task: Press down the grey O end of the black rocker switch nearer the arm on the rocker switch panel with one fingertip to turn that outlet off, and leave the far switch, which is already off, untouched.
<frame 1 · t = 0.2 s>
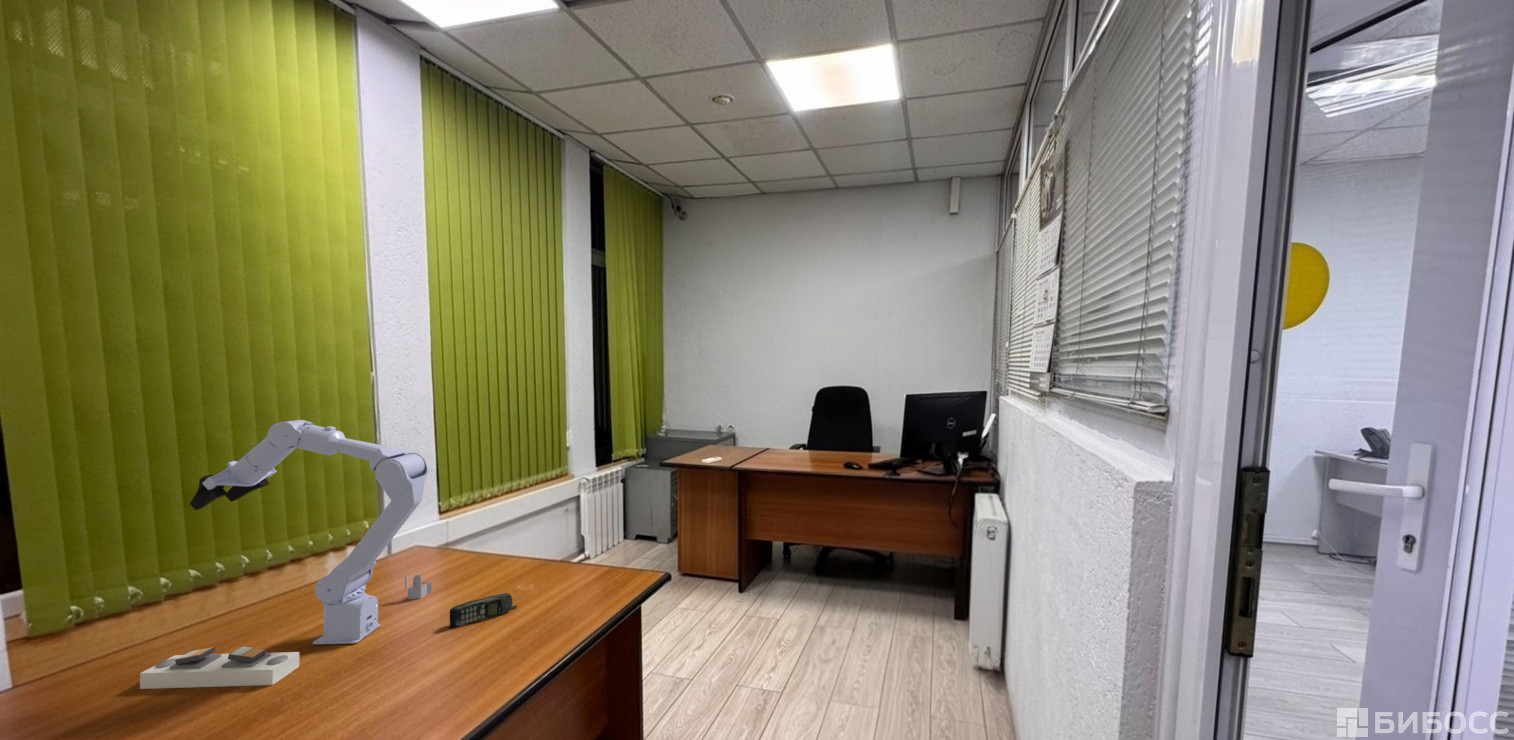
hand: (212, 502, 112), 31 cm above the table, tool tilted 45°, fingers open, 7 cm apart
architectural model: (406, 595, 136), on the table
rocker near: (247, 654, 99), point 4 cm above the table, hinge at -10.0°
mobile phone: (484, 619, 123), on the table
rocker far: (195, 655, 98), point 4 cm above the table, hinge at 10.0°
rocker switch panel: (222, 677, 98), on the table
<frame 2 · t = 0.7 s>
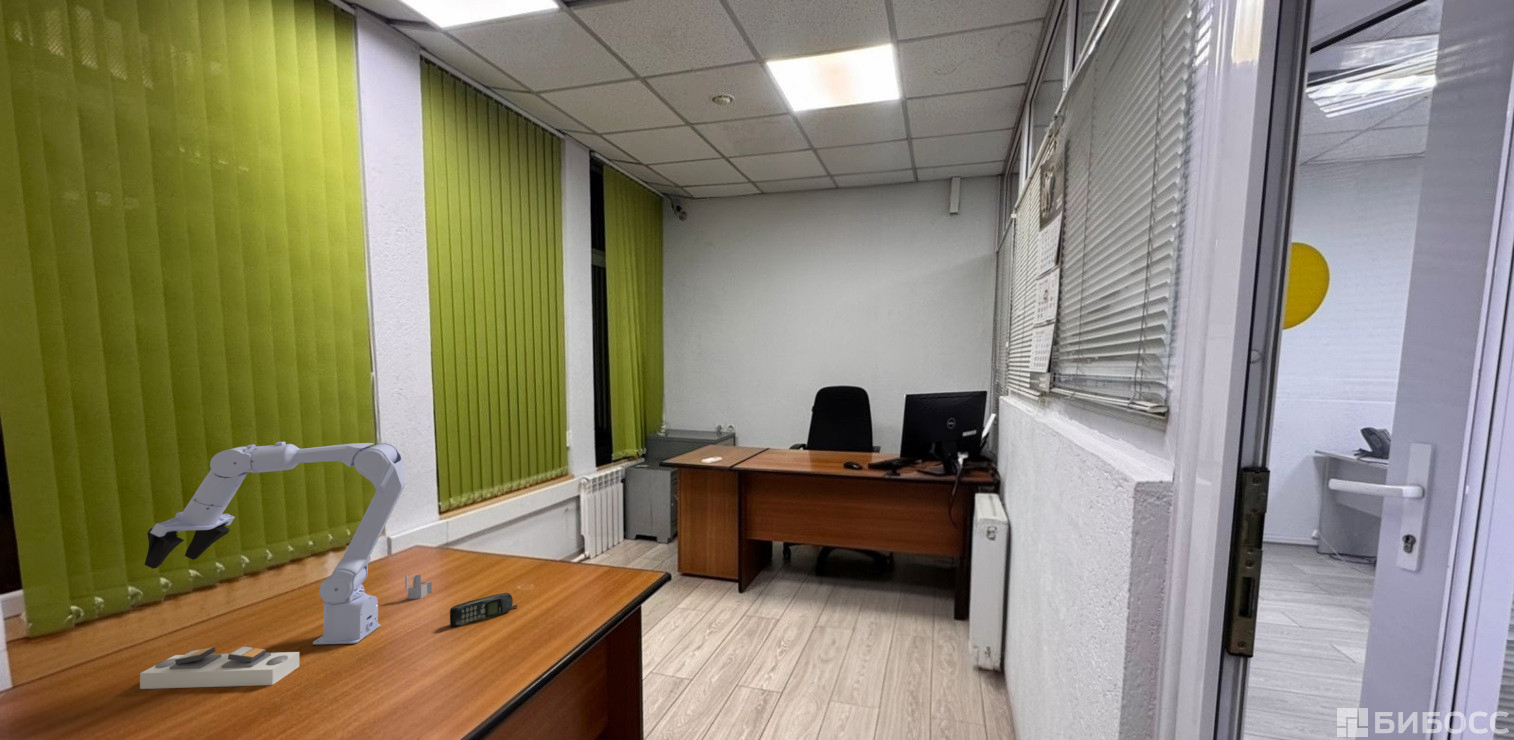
hand: (171, 561, 103), 21 cm above the table, tool tilted 25°, fingers open, 7 cm apart
nothing on the table moved.
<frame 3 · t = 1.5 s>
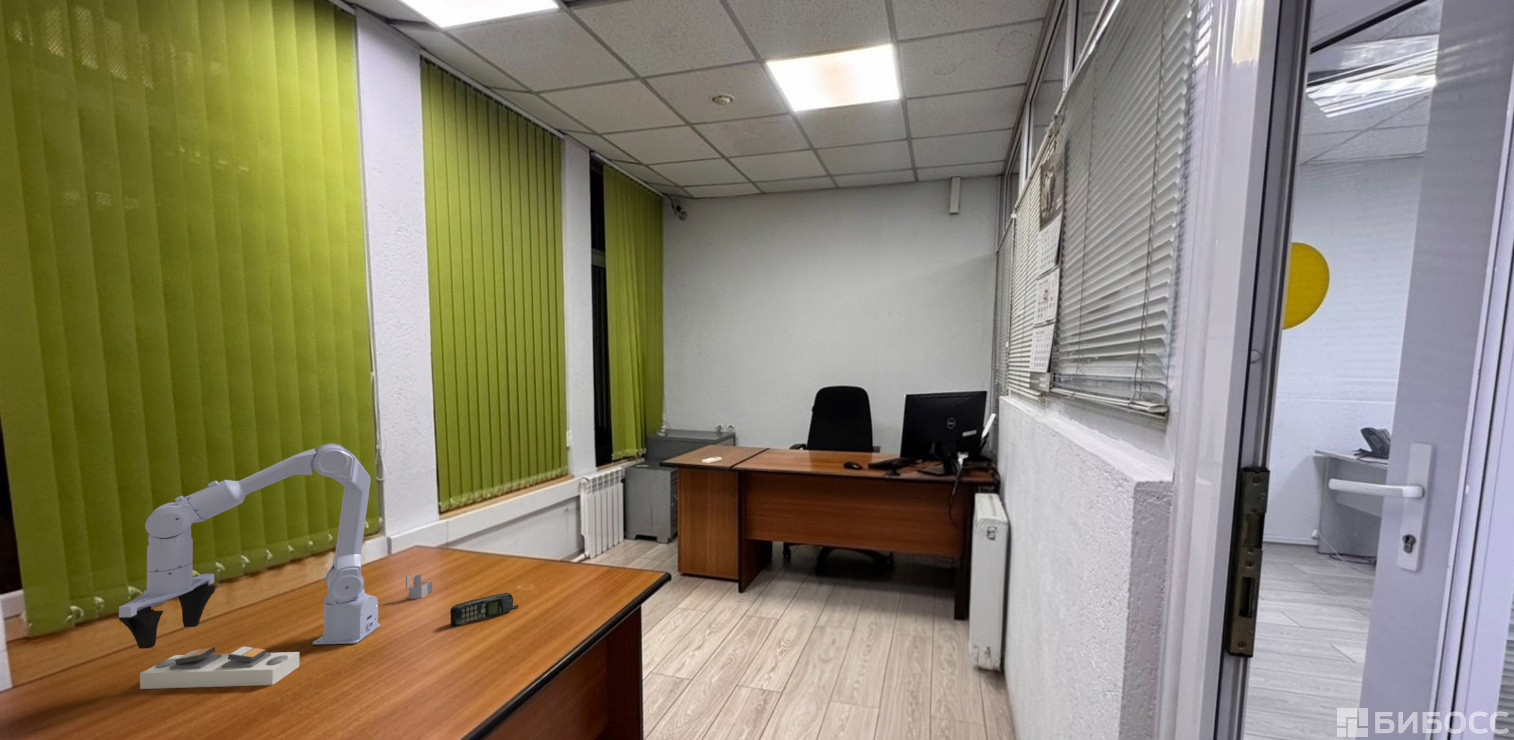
hand: (169, 636, 96), 9 cm above the table, tool pointing down, fingers open, 7 cm apart
nothing on the table moved.
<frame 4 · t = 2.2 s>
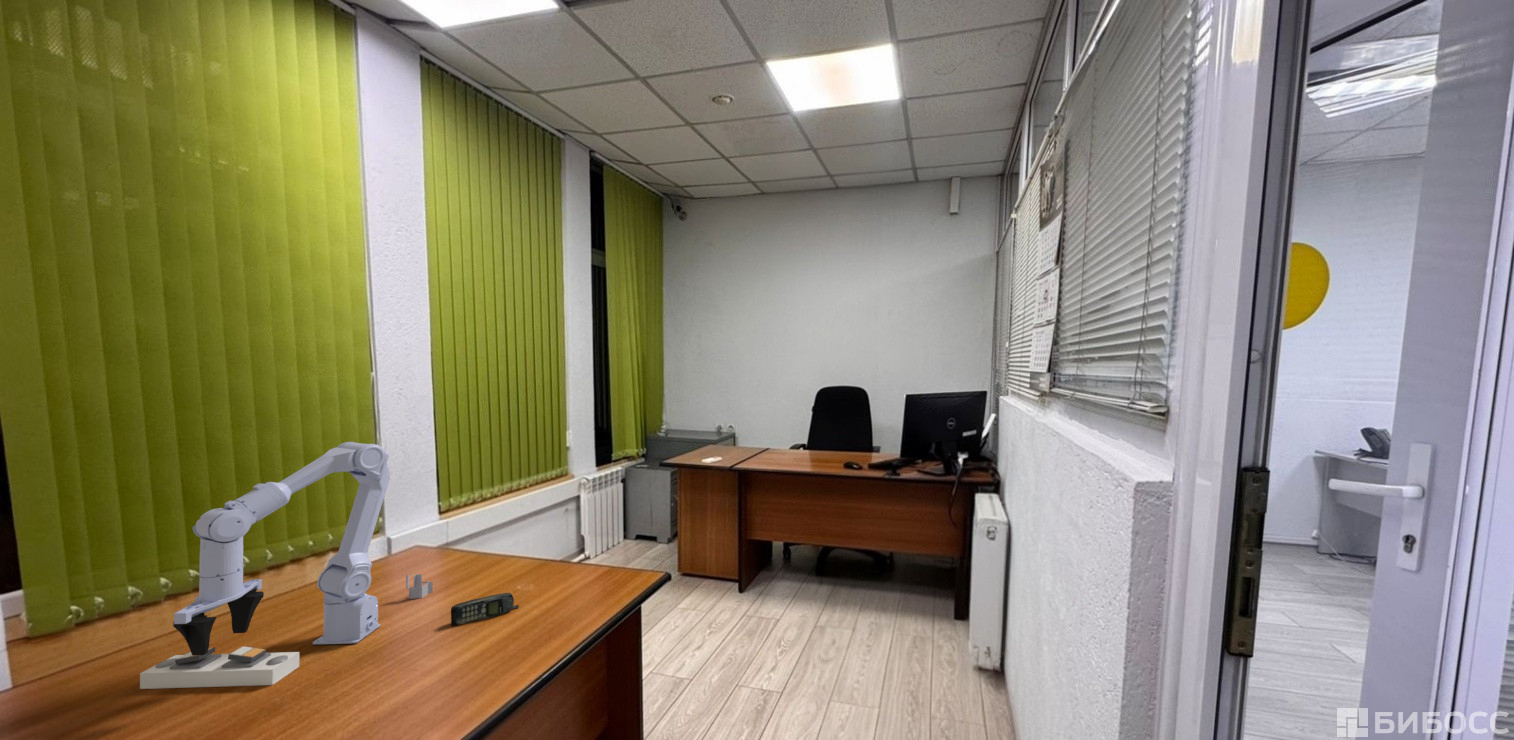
hand: (220, 642, 95), 9 cm above the table, tool pointing down, fingers open, 7 cm apart
nothing on the table moved.
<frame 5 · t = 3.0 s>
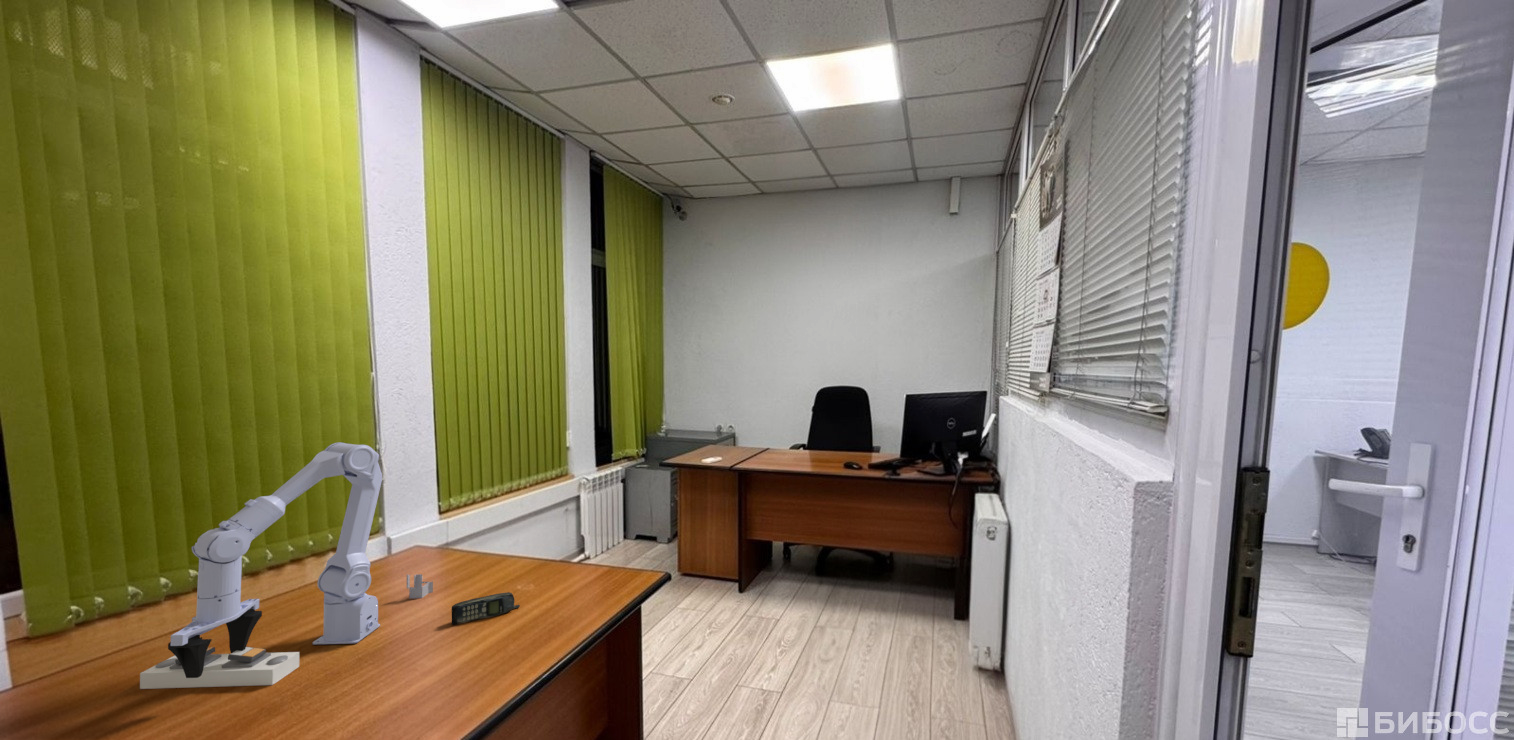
hand: (216, 664, 95), 5 cm above the table, tool pointing down, fingers open, 7 cm apart
rocker near: (247, 654, 99), point 4 cm above the table, hinge at -8.4°, touching gripper
everything else where it was.
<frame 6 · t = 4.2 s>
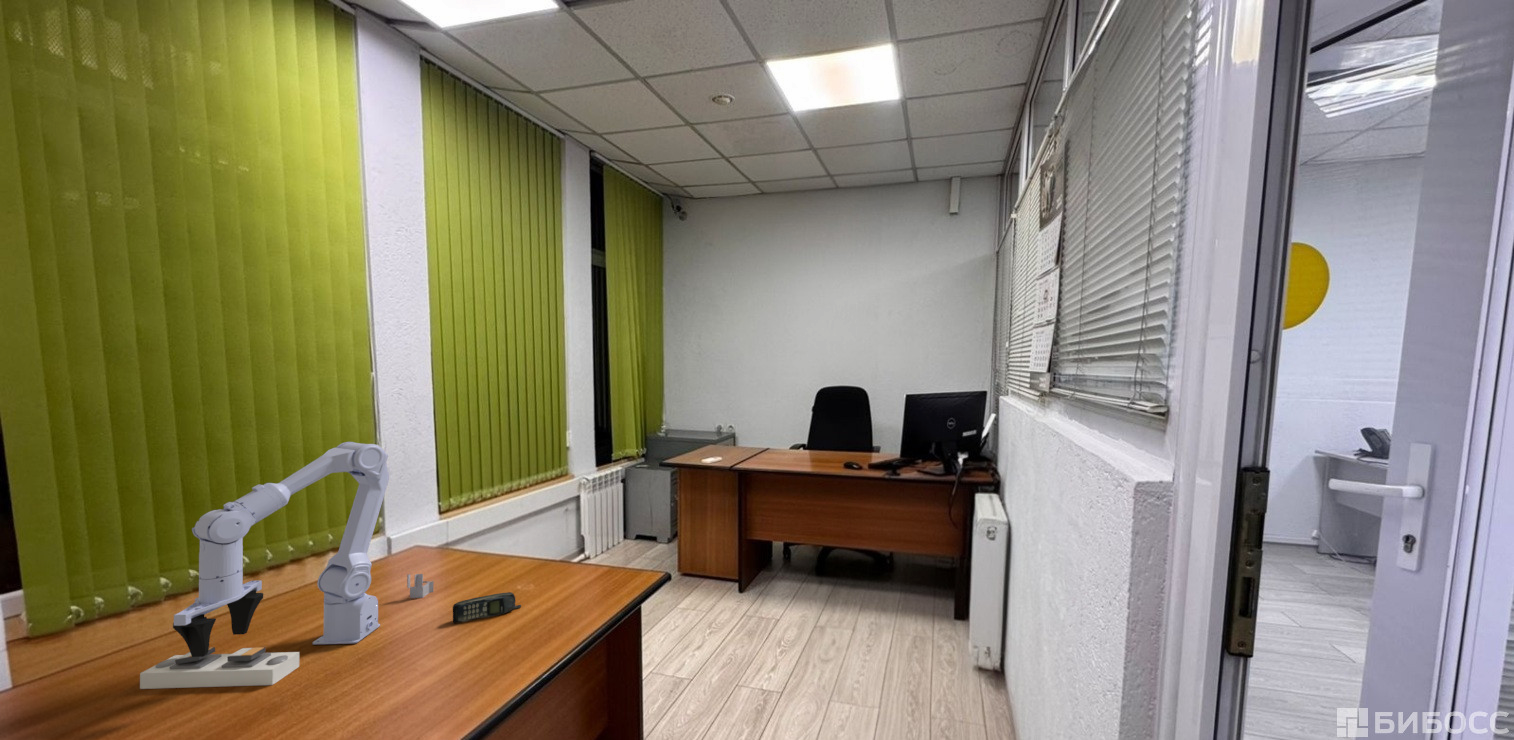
hand: (220, 644, 95), 8 cm above the table, tool pointing down, fingers open, 7 cm apart
rocker near: (246, 654, 99), point 4 cm above the table, hinge at 1.1°
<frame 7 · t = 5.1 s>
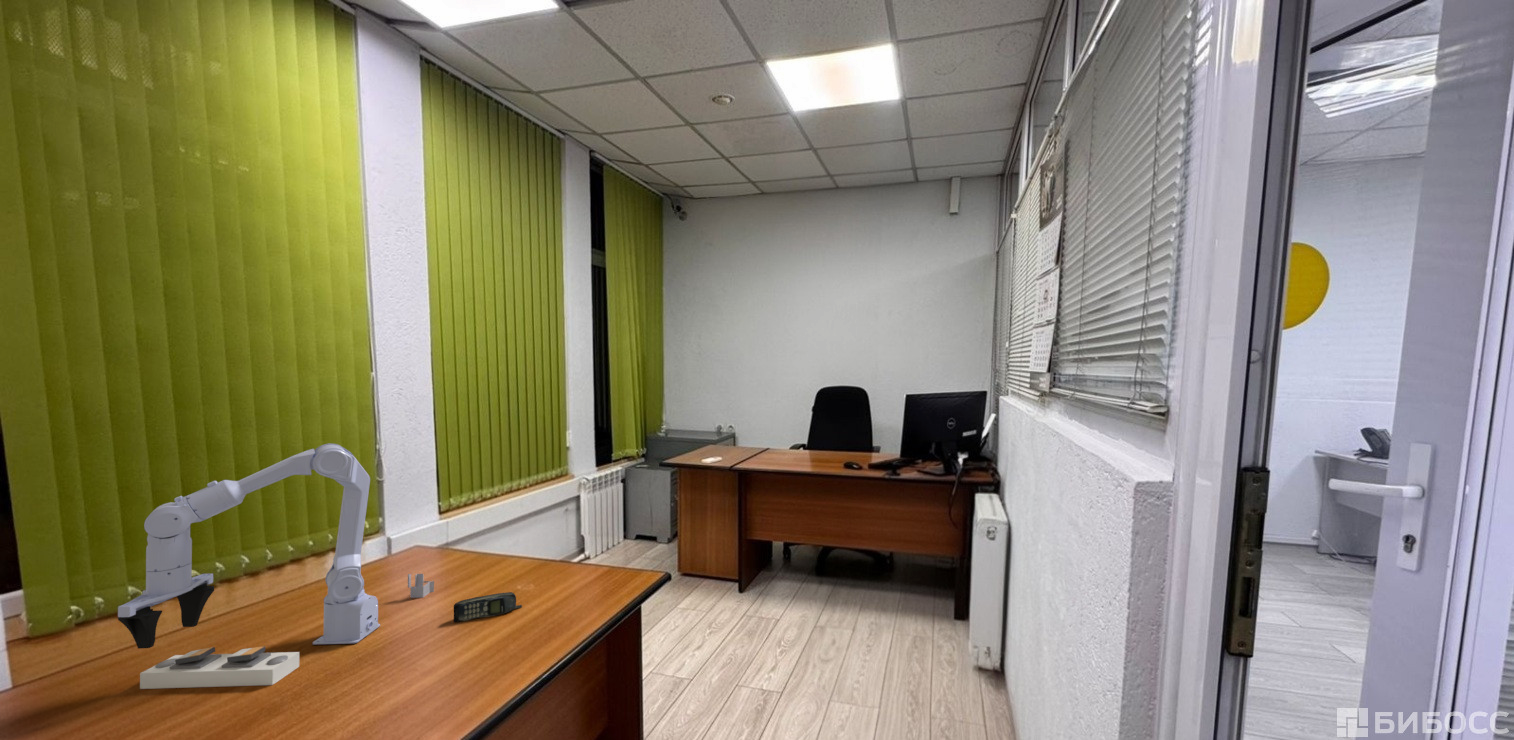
hand: (168, 636, 96), 9 cm above the table, tool pointing down, fingers open, 7 cm apart
rocker near: (246, 654, 99), point 4 cm above the table, hinge at 6.0°
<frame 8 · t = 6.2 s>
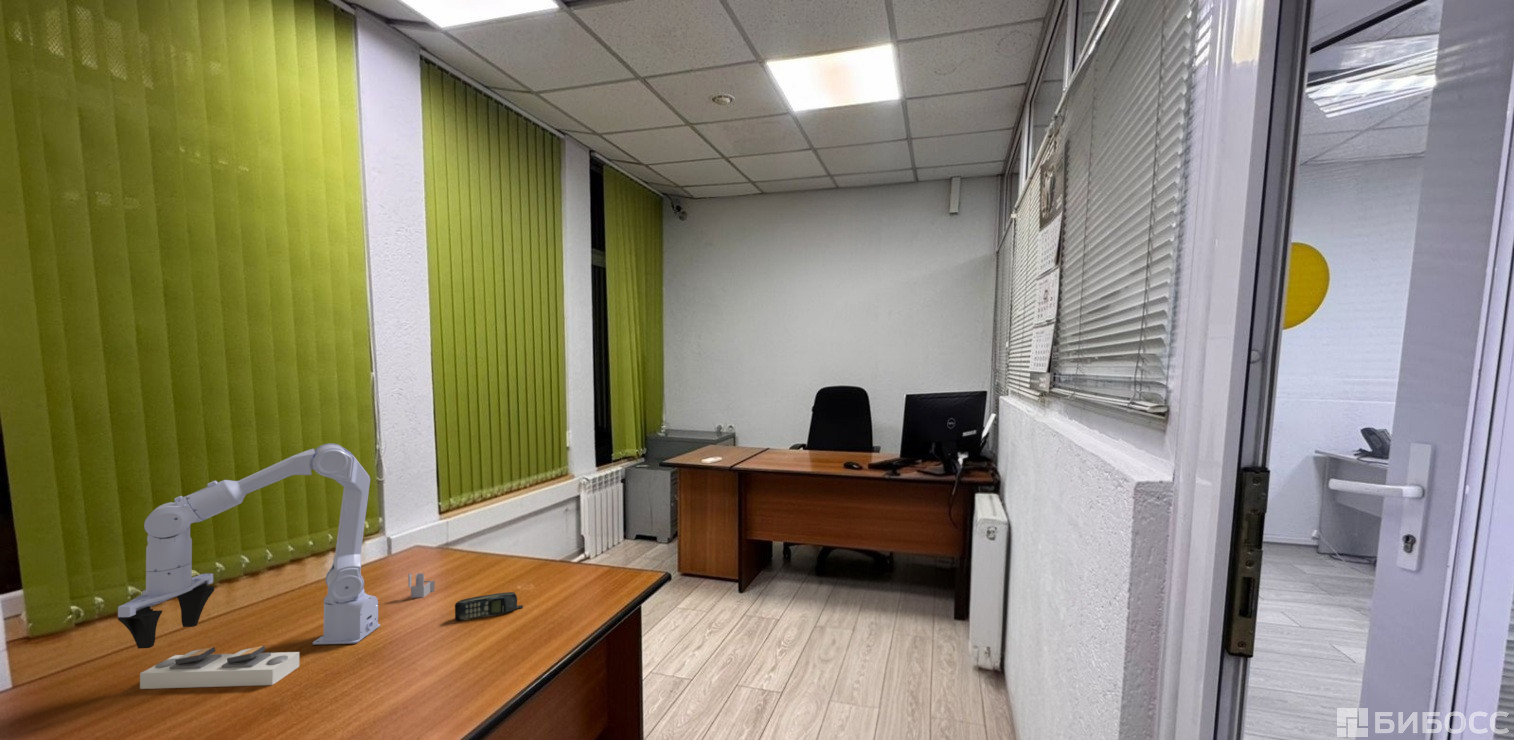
hand: (168, 636, 96), 9 cm above the table, tool pointing down, fingers open, 7 cm apart
rocker near: (246, 654, 99), point 4 cm above the table, hinge at 10.7°
at the end: rocker near at +11° (first picture: -10°); rocker far at +10° (first picture: +10°) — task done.
